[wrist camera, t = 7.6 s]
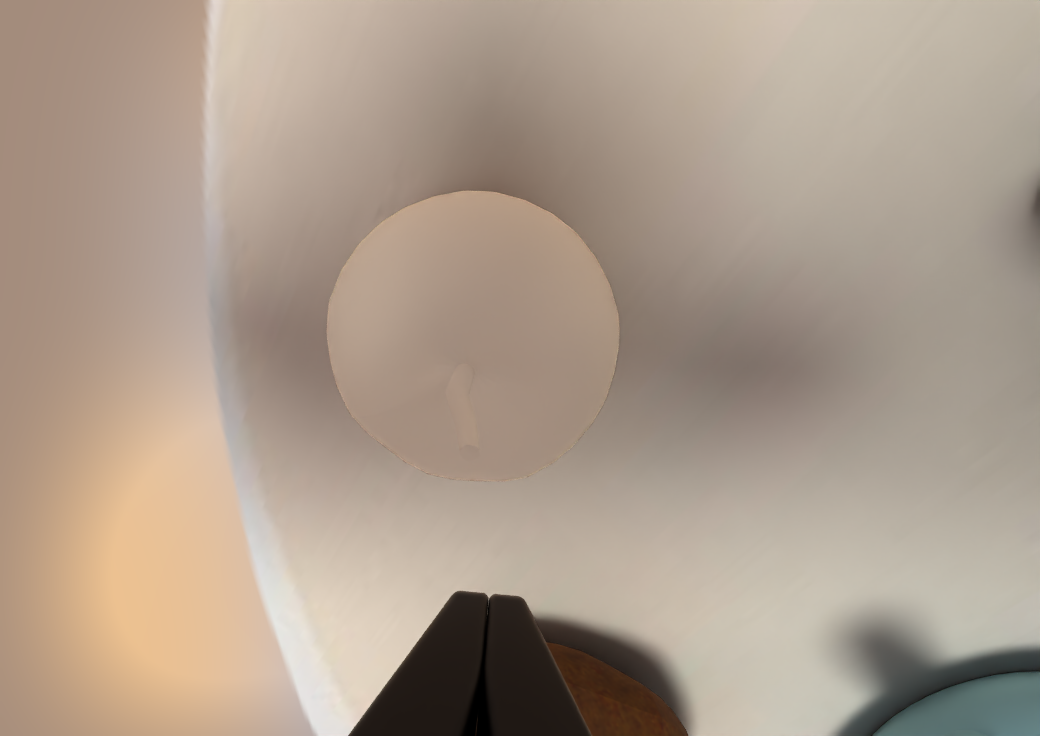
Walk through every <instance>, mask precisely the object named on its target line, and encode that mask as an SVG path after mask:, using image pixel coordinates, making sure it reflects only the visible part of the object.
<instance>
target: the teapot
mask: <svg viewBox="0 0 1040 736" xmlns="http://www.w3.org/2000/svg"><path fill="white" fill-rule="evenodd" d="M872 736H1040V671H1033V672H1014V673H1006V674H999V675H993V676H988V677H983V678H979V679H974V680H971V681H967V682H964V683H961V684H958V685H954V686H951V687H949V688H946V689H944V690H941V691H939V692H936V693H934V694H932V695H929V696H927V697H925V698H924V699H922V700H920V701H918V702H916V703H914V704H912V705H910V706H909V707H907V708H906V709H904V710H903V711H901V712H899V713H898V714H896V715H895V716H893V717H892V718H891V719H890V720H889V721H887V722H886V723H885V724H884V725H882V726H881V727H880V728H879V729H878V730H877V731H876V732H875V733H874V734H873V735H872Z"/></svg>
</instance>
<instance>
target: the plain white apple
mask: <svg viewBox="0 0 1040 736" xmlns="http://www.w3.org/2000/svg"><path fill="white" fill-rule="evenodd" d="M326 330H327V341H328V349H329V357H330V362H331V366H332V370H333V374H334V378H335V382H336V386H337V388H338V390H339V392H340V394H341V396H342V398H343V401H344V403H345V405H346V407H347V409H348V411H349V413H350V415H351V416H352V417H353V418H354V419H355V420H356V421H357V422H358V423H359V425H360V426H361V427H362V428H363V429H364V430H365V431H366V432H367V433H368V434H370V435H371V436H372V437H373V438H375V439H376V440H377V441H378V442H380V443H381V444H382V445H383V446H385V447H386V448H387V449H389V450H390V451H391V452H393V453H394V454H395V455H397V456H398V457H399V458H401V459H402V460H403V461H404V462H406V463H408V464H410V465H412V466H414V467H416V468H417V469H419V470H421V471H423V472H425V473H427V474H430V475H435V476H439V477H444V478H449V479H454V480H470V481H509V480H514V479H520V478H525V477H529V476H531V475H533V474H534V473H536V472H538V471H540V470H542V469H543V468H545V467H547V466H549V465H551V464H552V463H554V462H555V461H556V460H558V459H559V458H560V457H561V456H562V455H563V454H564V453H566V452H567V451H568V450H569V449H570V448H571V447H572V446H574V445H575V444H576V442H577V441H578V440H579V439H580V438H581V437H582V435H583V434H584V433H585V432H586V431H587V430H588V428H589V427H590V426H591V425H592V423H593V422H594V420H595V418H596V416H597V415H598V413H599V411H600V409H601V408H602V406H603V404H604V402H605V401H606V398H607V395H608V392H609V389H610V385H611V382H612V379H613V376H614V372H615V368H616V362H617V355H618V349H619V342H620V339H619V315H618V311H617V308H616V304H615V300H614V297H613V293H612V290H611V286H610V284H609V282H608V280H607V278H606V276H605V274H604V272H603V270H602V268H601V266H600V264H599V262H598V260H597V258H596V257H595V256H594V254H593V253H592V252H591V251H590V249H589V248H588V247H587V245H586V244H585V243H584V242H583V240H582V239H581V238H580V236H579V235H578V234H577V233H576V232H575V231H574V230H573V229H571V228H570V227H569V226H568V225H566V224H565V223H564V222H563V221H561V220H560V219H559V218H557V217H556V216H555V215H554V214H552V213H551V212H549V211H547V210H545V209H542V208H540V207H538V206H536V205H534V204H532V203H530V202H528V201H526V200H523V199H520V198H516V197H512V196H509V195H505V194H501V193H497V192H490V191H466V190H464V191H459V192H453V193H448V194H442V195H437V196H433V197H430V198H428V199H425V200H422V201H420V202H417V203H414V204H412V205H409V206H406V207H405V208H403V209H401V210H400V211H398V212H397V213H395V214H393V215H392V216H390V217H389V218H387V219H385V220H384V221H382V222H381V223H380V224H379V225H378V226H377V227H376V228H375V229H374V230H373V231H372V232H370V233H369V234H368V235H367V236H366V237H365V238H364V239H363V240H362V241H361V242H360V243H359V244H358V246H357V247H356V249H355V250H354V252H353V253H352V255H351V256H350V258H349V259H348V261H347V262H346V264H345V265H344V267H343V268H342V270H341V273H340V275H339V278H338V280H337V283H336V285H335V288H334V290H333V293H332V295H331V298H330V300H329V307H328V317H327V327H326Z"/></svg>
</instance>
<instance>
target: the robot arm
mask: <svg viewBox="0 0 1040 736" xmlns="http://www.w3.org/2000/svg"><path fill="white" fill-rule="evenodd" d="M488 601H489V604H488ZM487 612H488V614H487ZM476 726H477V727H476ZM348 736H592V735H591V733H590V731H589V729H588V727H587V725H586V723H585V721H584V719H583V717H582V715H581V713H580V711H579V709H578V706H577V704H576V702H575V700H574V698H573V696H572V694H571V692H570V690H569V688H568V686H567V684H566V682H565V680H564V678H563V676H562V674H561V672H560V670H559V668H558V666H557V664H556V662H555V660H554V658H553V656H552V654H551V652H550V650H549V648H548V646H547V644H546V642H545V640H544V638H543V636H542V634H541V632H540V630H539V628H538V626H537V624H536V622H535V620H534V618H533V616H532V614H531V612H530V610H529V608H528V605H527V604H526V602H525V600H524V599H523V598H522V597H519V596H510V595H499V594H494V595H492V596H491V597H490V598H489V600H488V596H487V595H486V594H485V593H477V592H467V591H457V592H455V593H454V594H453V595H452V596H451V597H450V599H449V600H448V601H447V603H446V604H445V605H444V607H443V608H442V609H441V611H440V612H439V614H438V615H437V616H436V618H435V619H434V620H433V622H432V623H431V624H430V626H429V627H428V628H427V630H426V631H425V632H424V634H423V635H422V637H421V638H420V639H419V641H418V642H417V643H416V645H415V646H414V647H413V649H412V650H411V651H410V653H409V654H408V655H407V657H406V658H405V660H404V661H403V662H402V664H401V665H400V666H399V668H398V669H397V670H396V672H395V673H394V674H393V676H392V677H391V678H390V680H389V681H388V683H387V684H386V685H385V687H384V688H383V689H382V691H381V692H380V693H379V695H378V696H377V697H376V699H375V700H374V701H373V703H372V704H371V706H370V707H369V708H368V710H367V711H366V712H365V714H364V715H363V716H362V718H361V719H360V720H359V722H358V723H357V725H356V726H355V727H354V729H353V730H352V731H351V733H350V734H349V735H348Z"/></svg>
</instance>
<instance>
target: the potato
mask: <svg viewBox="0 0 1040 736" xmlns="http://www.w3.org/2000/svg"><path fill="white" fill-rule="evenodd" d="M546 644H547V646H548V648H549V650H550V652H551V654H552V656H553V658H554V660H555V662H556V664H557V666H558V668H559V670H560V672H561V674H562V676H563V678H564V680H565V682H566V684H567V686H568V688H569V690H570V692H571V694H572V696H573V698H574V700H575V702H576V704H577V706H578V709H579V711H580V713H581V715H582V717H583V719H584V721H585V723H586V725H587V727H588V729H589V731H590V733H591V735H592V736H688V733H687V731H686V729H685V728H684V726H683V725H682V724H681V722H680V721H679V719H678V718H677V716H676V715H675V713H674V712H673V711H672V709H671V708H670V707H669V706H668V705H667V704H666V703H665V702H664V701H663V700H662V699H661V698H660V697H659V696H658V695H656V694H655V693H654V692H652V691H651V690H649V689H648V688H646V687H645V686H644V685H642V684H641V683H639V682H637V681H636V680H634V679H632V678H631V677H629V676H627V675H625V674H624V673H622V672H620V671H618V670H617V669H615V668H613V667H611V666H610V665H608V664H606V663H604V662H602V661H600V660H598V659H596V658H594V657H592V656H590V655H588V654H586V653H584V652H582V651H579V650H576V649H573V648H569V647H566V646H563V645H560V644H555V643H548V642H546ZM476 727H477V726H476Z"/></svg>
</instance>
